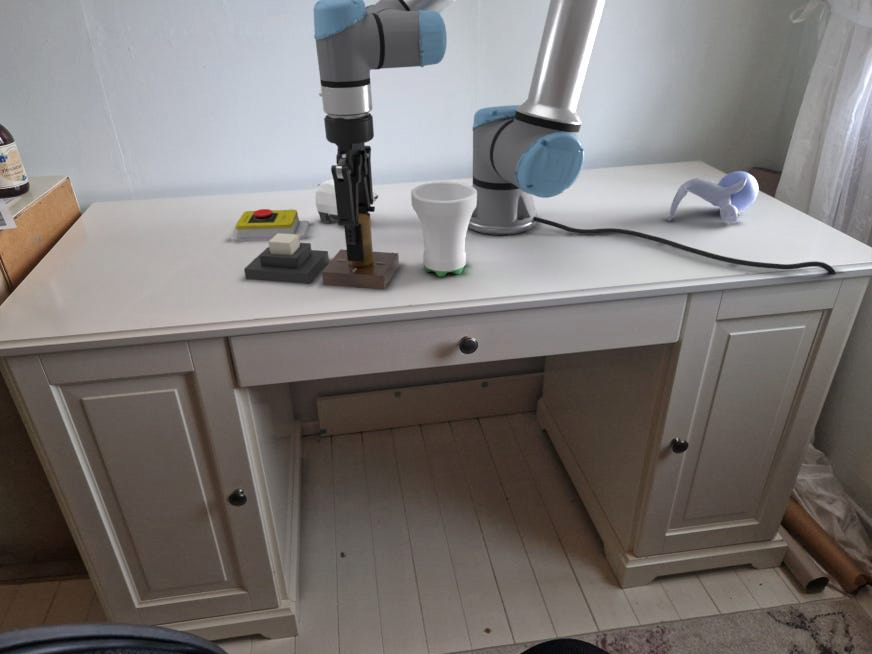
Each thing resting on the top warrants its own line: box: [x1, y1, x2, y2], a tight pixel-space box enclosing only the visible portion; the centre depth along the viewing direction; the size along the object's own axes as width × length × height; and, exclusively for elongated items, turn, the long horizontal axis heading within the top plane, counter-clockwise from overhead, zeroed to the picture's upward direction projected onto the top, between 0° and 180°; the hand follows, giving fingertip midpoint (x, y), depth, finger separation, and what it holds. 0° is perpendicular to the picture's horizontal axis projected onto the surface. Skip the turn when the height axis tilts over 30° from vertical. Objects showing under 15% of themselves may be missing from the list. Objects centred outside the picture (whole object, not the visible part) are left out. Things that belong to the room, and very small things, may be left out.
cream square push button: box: [268, 233, 301, 255], centre depth 112 cm, size 4×4×3 cm
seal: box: [667, 170, 759, 224], centre depth 131 cm, size 8×12×20 cm
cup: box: [410, 181, 477, 278], centre depth 109 cm, size 11×11×14 cm
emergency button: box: [229, 208, 311, 243], centre depth 129 cm, size 9×4×15 cm
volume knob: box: [348, 214, 374, 267], centre depth 108 cm, size 4×4×8 cm
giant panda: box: [315, 178, 379, 224], centre depth 131 cm, size 15×6×10 cm, turn 62°
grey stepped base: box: [243, 242, 330, 285], centre depth 113 cm, size 12×10×4 cm
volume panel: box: [321, 249, 400, 290], centre depth 111 cm, size 11×10×3 cm
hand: (360, 254), depth 109 cm, fingers closed on volume knob, 4 cm apart
